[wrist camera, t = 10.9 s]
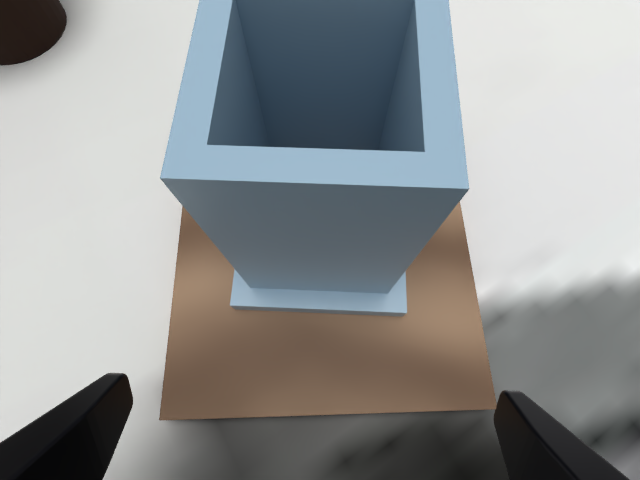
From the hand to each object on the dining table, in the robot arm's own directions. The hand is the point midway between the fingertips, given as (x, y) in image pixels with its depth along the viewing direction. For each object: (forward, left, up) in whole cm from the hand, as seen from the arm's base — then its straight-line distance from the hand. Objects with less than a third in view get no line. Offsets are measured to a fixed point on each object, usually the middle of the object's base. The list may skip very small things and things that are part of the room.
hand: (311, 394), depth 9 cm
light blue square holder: (+7, 0, -7) cm, 10 cm away
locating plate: (+7, 0, -8) cm, 11 cm away
